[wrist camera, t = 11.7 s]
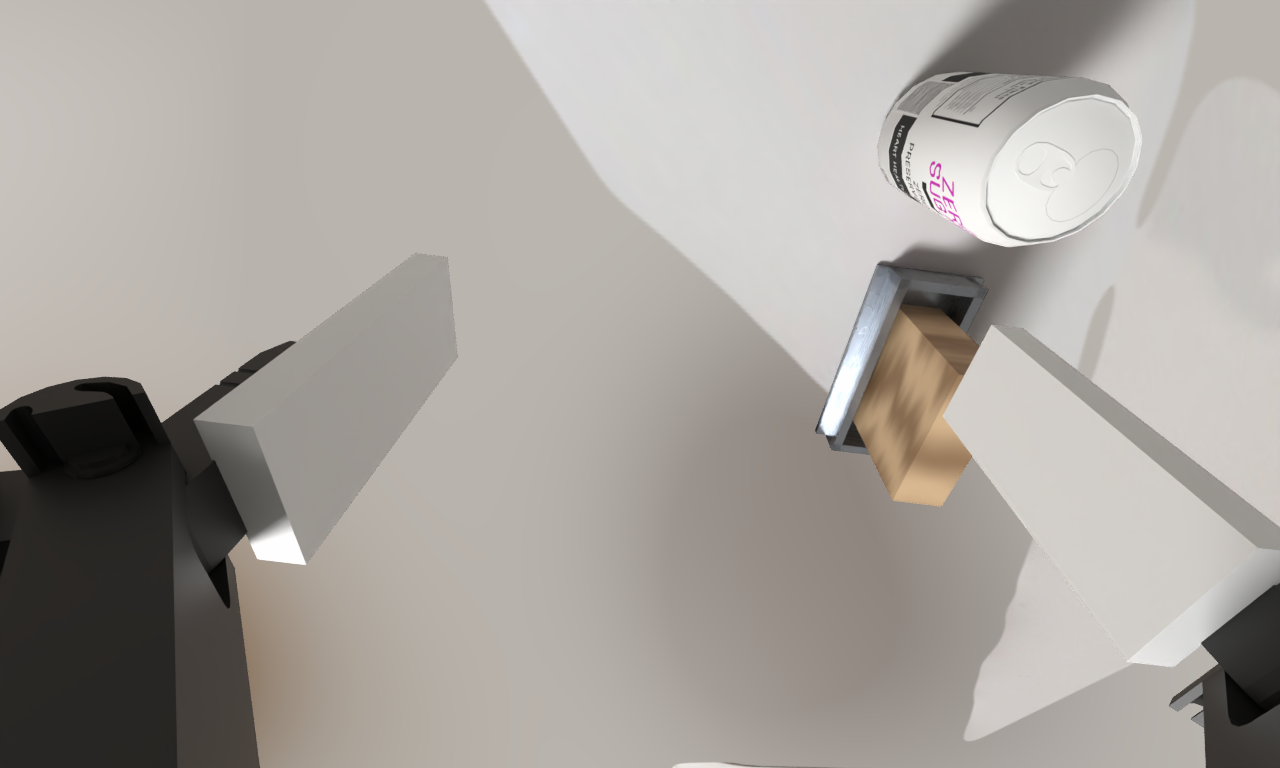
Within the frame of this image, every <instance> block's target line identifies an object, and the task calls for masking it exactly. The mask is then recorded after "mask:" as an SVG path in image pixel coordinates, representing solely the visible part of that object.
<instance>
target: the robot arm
mask: <svg viewBox="0 0 1280 768" xmlns="http://www.w3.org/2000/svg"><path fill="white" fill-rule="evenodd" d="M457 357H458V355H457V345H456V335H455V325H454V315H453V305H452V296H451V285H450V276H449V266H448V257H444V256H443V257H442V256H435V255H427V254H419V253H415V254H414V255H412V256H411V257H410V258H408V259H407V260H406V261H404V262H403V263H402V264H400V265H399V266H398V267H396V268H395V269H394V270H392V271H391V272H390V273H388V274H387V275H386V276H385V277H383V278H382V279H380V280H379V281H378V282H376V283H375V284H374V285H372V286H371V287H370V288H368V289H367V290H366V291H364V292H363V293H362V294H360V295H359V296H358V297H356V298H355V299H354V300H352V301H351V302H349V303H348V304H347V305H346V306H344V307H343V308H341V309H340V310H339V311H337V312H336V313H335V314H333V315H332V316H331V317H330V318H328V319H327V320H325V321H324V322H323V323H321V324H320V325H319V326H317V327H316V328H315V329H313V330H312V331H311V332H309V333H308V334H307V335H305V336H304V337H303V338H301V339H300V340H299V341H297V342H294V341H289V342H286V343H284V344H281V345H279V346H276V347H274V348H271V349H269V350H266V351H264V352H261V353H259V354H258V355H257V356H255V357H254V358H253V359H251V360H250V361H248V362H247V363H245V364H244V365H243V366H241V367H240V368H239V371H238V372H233V373H231V374H230V375H229V376H227V377H226V378H224V379H223V380H221V381H220V385H214V386H213V387H212V388H210V389H209V390H207V391H206V392H204V393H203V394H202V395H200V396H199V397H197V398H196V399H195V400H193V401H192V402H190V403H189V404H188V405H186V406H185V407H183V408H182V409H180V410H179V411H178V412H176V413H175V414H173V415H172V416H171V417H169V418H168V419H166V420H165V421H164V422H162V423H161V422H160V420H159V418H158V416H157V414H156V412H155V410H154V408H153V406H152V404H151V402H150V401H149V398H148V396H147V394H146V393H145V391H144V389H143V387H142V385H141V384H140V383H138V382H135V381H133V380H130V379H127V378H116V377H98V378H89V379H81V380H74V381H70V382H66V383H62V384H58V385H54V386H50V387H47V388H44V389H41V390H39V391H36V392H33V393H31V394H28V395H26V396H23V397H20V398H19V399H17V400H15V401H14V402H12V403H10V404H9V405H7V406H5V407H4V408H2V409H0V441H1V442H2V443H3V445H4V446H5V447H6V449H7V450H8V452H9V453H10V454H11V456H12V457H13V458H14V460H15V461H16V462H17V464H18V465H19V466H20V468H21V469H22V470H16V471H5V472H0V768H260V765H259V757H258V749H257V742H256V733H255V726H254V717H253V709H252V701H251V694H250V686H249V678H248V670H247V662H246V654H245V646H244V638H243V630H242V622H241V614H240V606H239V599H238V591H237V583H236V575H235V568H234V566H233V564H232V562H231V560H230V558H229V556H228V553H229V552H230V551H231V550H232V549H233V547H235V545H236V544H237V543H238V542H239V541H240V540H241V539H242V538H243V537H244V535H245V534H246V535H247V537H248V539H249V541H250V543H251V546H252V548H253V550H254V552H255V554H256V557H257V558H258V559H261V560H269V561H277V562H286V563H294V564H303V565H307V563H308V562H309V560H310V559H311V558H312V556H313V555H314V554H315V552H316V551H317V549H318V548H319V547H320V545H321V544H322V543H323V541H324V540H325V539H326V537H327V536H328V534H329V533H330V532H331V530H332V529H333V527H334V526H335V525H336V523H337V522H338V521H339V519H340V518H341V517H342V515H343V514H344V512H345V511H346V510H347V508H348V507H349V505H350V504H351V503H352V501H353V500H354V499H355V497H356V496H357V495H358V493H359V492H360V490H361V489H362V488H363V486H364V485H365V484H366V482H367V481H368V479H369V478H370V477H371V475H372V474H373V473H374V471H375V470H376V468H377V467H378V466H379V464H380V463H381V461H382V460H383V459H384V458H385V456H386V455H387V453H388V452H389V451H390V449H391V448H392V446H393V445H394V444H395V442H396V441H397V440H398V438H399V437H400V435H401V434H402V433H403V431H404V430H405V429H406V427H407V426H408V424H409V423H410V422H411V420H412V419H413V418H414V416H415V415H416V414H417V412H418V411H419V409H420V408H421V407H422V405H423V404H424V403H425V401H426V400H427V398H428V397H429V396H430V394H431V393H432V391H433V390H434V389H435V387H436V386H437V385H438V383H439V382H440V381H441V379H442V378H443V377H444V375H445V374H446V372H447V371H448V369H449V368H450V367H451V366H452V364H453V363H454V361H455V360H456V359H457ZM943 418H944V419H945V420H946V422H947V423H948V424H949V426H950V427H951V428H952V430H953V431H954V432H955V434H956V435H957V436H958V438H959V439H960V440H961V442H962V443H963V444H964V446H965V447H966V448H967V450H968V451H969V452H970V454H971V455H972V456H973V458H974V459H975V460H976V462H977V463H978V464H979V466H980V467H981V468H982V470H983V471H984V472H985V474H986V475H987V477H988V478H989V479H990V481H991V482H992V483H993V484H994V486H995V487H996V489H997V490H998V491H999V493H1000V494H1001V495H1002V497H1003V498H1004V499H1005V501H1006V502H1007V503H1008V505H1009V506H1010V507H1011V509H1012V510H1013V511H1014V512H1015V514H1016V515H1017V517H1018V518H1019V519H1020V521H1021V522H1022V523H1023V525H1024V526H1025V527H1026V529H1027V530H1028V531H1029V533H1030V534H1031V535H1032V537H1033V538H1034V539H1035V541H1036V542H1037V543H1038V545H1039V546H1040V547H1041V549H1042V550H1043V551H1044V553H1045V554H1046V555H1047V557H1048V558H1049V559H1050V561H1051V562H1052V563H1053V565H1054V566H1055V567H1056V569H1057V570H1058V571H1059V573H1060V574H1061V575H1062V577H1063V578H1064V579H1065V581H1066V582H1067V583H1068V585H1069V586H1070V587H1071V589H1072V590H1073V591H1074V593H1075V594H1076V595H1077V597H1078V598H1079V599H1080V601H1081V602H1082V603H1083V605H1084V606H1085V607H1086V609H1087V610H1088V611H1089V613H1090V614H1091V615H1092V617H1093V618H1094V620H1095V621H1096V622H1097V624H1098V625H1099V626H1100V628H1101V629H1102V630H1103V632H1104V633H1105V634H1106V636H1107V637H1108V638H1109V640H1110V641H1111V642H1112V644H1113V645H1114V646H1115V648H1116V649H1117V650H1118V652H1119V653H1120V654H1121V656H1122V657H1123V658H1124V660H1125V661H1126V662H1133V663H1142V664H1151V665H1158V666H1168V667H1174V666H1175V665H1176V664H1178V663H1179V662H1180V661H1182V660H1183V659H1184V658H1185V657H1187V656H1188V655H1189V654H1191V653H1192V652H1193V651H1194V650H1195V649H1197V648H1198V647H1199V646H1201V645H1203V646H1204V647H1205V648H1206V650H1207V651H1208V652H1209V653H1210V654H1211V655H1212V656H1213V657H1214V659H1215V660H1216V661H1217V662H1218V663H1219V664H1218V665H1216V666H1215V667H1213V668H1212V669H1211V670H1209V671H1208V672H1207V673H1205V674H1204V675H1203V676H1201V677H1200V678H1199V679H1197V680H1196V681H1195V682H1193V683H1192V684H1191V685H1189V686H1188V687H1186V688H1185V689H1184V690H1182V691H1181V692H1180V693H1178V694H1177V695H1176V696H1174V697H1173V698H1172V700H1171V703H1170V705H1169V706H1170V707H1171V708H1173V709H1174V710H1176V711H1179V710H1181V709H1182V708H1184V707H1185V706H1186V705H1188V704H1189V703H1196V704H1198V705H1201V706H1203V710H1202V711H1201V712H1199V713H1198V714H1196V715H1195V716H1193V717H1192V718H1191V720H1192V721H1194V722H1196V723H1197V724H1199V725H1201V726H1202V727H1204V734H1205V757H1206V768H1280V527H1279V526H1277V525H1276V524H1275V523H1274V522H1272V521H1271V520H1270V519H1268V518H1267V517H1266V516H1265V515H1263V514H1262V513H1261V512H1259V511H1258V510H1257V509H1256V508H1254V507H1253V506H1252V505H1250V504H1249V503H1248V502H1246V501H1245V500H1244V499H1243V498H1241V497H1240V496H1239V495H1237V494H1236V493H1235V492H1234V491H1232V490H1231V489H1230V488H1228V487H1227V486H1226V485H1225V484H1223V483H1222V482H1221V481H1219V480H1218V479H1217V478H1215V477H1214V476H1213V475H1212V474H1210V473H1209V472H1208V471H1206V470H1205V469H1204V468H1203V467H1201V466H1200V465H1199V464H1197V463H1196V462H1195V461H1194V460H1192V459H1191V458H1190V457H1188V456H1187V455H1186V454H1185V453H1183V452H1182V451H1181V450H1179V449H1178V448H1177V447H1175V446H1174V445H1173V444H1172V443H1170V442H1169V441H1168V440H1166V439H1165V438H1164V437H1163V436H1161V435H1160V434H1159V433H1157V432H1156V431H1155V430H1154V429H1152V428H1151V427H1150V426H1148V425H1147V424H1146V423H1144V422H1143V421H1142V420H1141V419H1139V418H1138V417H1137V416H1135V415H1134V414H1133V413H1132V412H1130V411H1129V410H1128V409H1126V408H1125V407H1124V406H1123V405H1121V404H1120V403H1119V402H1117V401H1116V400H1115V399H1114V398H1112V397H1111V396H1110V395H1108V394H1107V393H1106V392H1104V391H1103V390H1102V389H1101V388H1099V387H1098V386H1097V385H1095V384H1094V383H1093V382H1092V381H1090V380H1089V379H1088V378H1086V377H1085V376H1084V375H1082V374H1081V373H1080V372H1079V371H1077V370H1076V369H1075V368H1073V367H1072V366H1071V365H1070V364H1068V363H1067V362H1066V361H1064V360H1063V359H1062V358H1061V357H1059V356H1058V355H1057V354H1055V353H1054V352H1053V351H1052V350H1050V349H1049V348H1048V347H1046V346H1045V345H1044V344H1043V343H1041V342H1040V341H1039V340H1037V339H1036V338H1035V337H1033V336H1032V335H1031V334H1030V333H1028V332H1027V331H1026V330H1024V329H1023V328H1016V327H1008V326H1000V325H991V327H990V328H989V330H988V332H987V334H986V336H985V338H984V340H983V341H982V343H981V345H980V347H979V349H978V351H977V353H976V355H975V356H974V358H973V360H972V362H971V364H970V366H969V368H968V369H967V371H966V373H965V375H964V377H963V379H962V381H961V382H960V384H959V386H958V388H957V390H956V392H955V394H954V396H953V397H952V399H951V401H950V403H949V405H948V407H947V409H946V410H945V412H944V414H943Z"/></svg>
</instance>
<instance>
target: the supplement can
mask: <svg viewBox="0 0 1280 768" xmlns="http://www.w3.org/2000/svg"><path fill="white" fill-rule="evenodd" d="M1142 140H1143V139H1142V135H1141V131H1140V127H1139V123H1138V119H1137V116H1136V115H1135V114H1134V113H1133V112H1132V111H1131V110H1130V109H1129V107H1128V104H1127V103H1126V102H1125V100H1124V99H1123V98H1122V97H1121V96H1120V95H1119V94H1118V93H1117V92H1116V91H1115V90H1114V89H1113V88H1112V87H1111V86H1110V85H1108V84H1104V83H1100V82H1097V81H1093V80H1090V79H1086V78H1082V77H1063V76H1041V75H1019V74H997V73H975V72H952V73H945V74H938V75H934V76H932V77H930V78H928V79H926V80H925V81H923V82H921V83H919V84H917V85H915V86H913V87H912V88H911V89H910V90H909V91H908V92H907V93H906V94H905V95H904V96H903V97H902V98H901V99H900V100H898V101H897V102H896V103H895V105H894V107H893V108H892V110H891V112H890V113H889V115H888V117H887V118H886V120H885V122H884V123H883V126H882V130H881V134H880V137H879V141H878V145H877V147H878V163H879V167H880V169H881V171H882V173H883V175H884V177H885V179H886V181H887V182H888V183H890V184H891V185H892V186H893V187H895V188H896V189H897V190H898V191H900V192H901V193H903V194H904V195H906V196H908V197H910V198H911V199H913V200H915V201H916V202H918V203H920V204H921V205H923V206H925V207H926V208H928V209H930V210H932V211H933V212H935V213H937V214H938V215H940V216H942V217H943V218H945V219H947V220H948V221H950V222H952V223H954V224H955V225H957V226H959V227H960V228H962V229H964V230H965V231H967V232H969V233H970V234H972V235H974V236H976V237H977V238H979V239H981V240H982V241H984V242H988V243H992V244H996V245H1000V246H1004V247H1014V246H1024V245H1034V244H1038V243H1048V242H1054V241H1057V240H1059V239H1062V238H1064V237H1067V236H1069V235H1072V234H1074V233H1077V232H1079V231H1080V230H1082V229H1083V228H1085V227H1086V226H1088V225H1089V224H1090V223H1092V222H1093V221H1095V220H1096V219H1098V218H1099V217H1101V216H1102V215H1103V214H1104V213H1105V212H1106V211H1107V210H1108V209H1109V208H1110V207H1111V206H1112V204H1113V203H1114V202H1115V201H1116V200H1117V199H1118V198H1119V197H1120V196H1121V195H1122V193H1123V192H1124V191H1125V189H1126V187H1127V185H1128V183H1129V181H1130V180H1131V178H1132V176H1133V174H1134V172H1135V170H1136V168H1137V166H1138V162H1139V157H1140V151H1141V146H1142Z"/></svg>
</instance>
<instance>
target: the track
mask: <svg viewBox="0 0 1280 768" xmlns="http://www.w3.org/2000/svg"><path fill="white" fill-rule="evenodd" d="M983 281H984V279H983V278H980V277H972V276H964V275H956V274H948V273H941V272H933V271H925V270H917V269H909V268H901V267H893V266H885V265H877V266H876V269H875V272H874V274H873V277H872V280H871V282H870V285H869V288H868V290H867V293H866V296H865V298H864V301H863V304H862V306H861V309H860V312H859V314H858V317H857V320H856V322H855V325H854V328H853V330H852V333H851V336H850V338H849V341H848V344H847V346H846V349H845V352H844V354H843V357H842V360H841V362H840V365H839V368H838V370H837V373H836V376H835V378H834V381H833V384H832V386H831V389H830V392H829V395H828V397H827V400H826V403H825V405H824V408H823V411H822V413H821V416H820V419H819V421H818V424H817V427H816V429H815V432H816V433H817V434H825V435H826V438H827V440H828V443H829V445H830V448H831V450H834V451H843V452H851V453H859V454H868V455H870V454H869V452H868V450H867V448H866V446H865V444H864V442H863V440H862V437H861V435H860V433H859V431H858V429H857V427H856V425H855V423H854V421H853V418H854V415H855V413H856V411H857V408H858V406H859V403H860V401H861V399H862V396H863V394H864V391H865V389H866V387H867V384H868V382H869V379H870V377H871V375H872V372H873V370H874V368H875V365H876V363H877V360H878V358H879V356H880V353H881V351H882V348H883V346H884V344H885V341H886V339H887V337H888V334H889V332H890V329H891V327H892V325H893V322H894V320H895V317H896V315H897V313H898V310H899V308H900V305H901V304H906V305H915V306H923V307H931V308H939V309H941V310H942V311H943V312H944V313H945V314H946V315H947V316H948V317H949V318H950V319H951V320H952V321H953V322H955V323H956V324H957V325H958V326H959V327H960V328H961V329H962V330H963V331H964V332H965V333H967V331H968V329H969V327H970V325H971V323H972V321H973V319H974V317H975V315H976V313H977V311H978V309H979V307H980V306H981V304H982V302H983V300H984V298H985V296H986V294H987V292H988V289H987V288H986V287H984V286H983V285H982V283H983Z"/></svg>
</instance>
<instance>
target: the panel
mask: <svg viewBox="0 0 1280 768" xmlns="http://www.w3.org/2000/svg"><path fill="white" fill-rule="evenodd" d="M979 347H980V346H979V345H978V344H977V343H976V342H975V341H974V340H973V339H971V338H970V337H969V336H968V335H967V334H966V333H965V332H964V331H963V330H962V329H961V328H960V327H959V326H958V325H957V324H956V323H955V322H953V321H952V320H951V319H950V318H949V317H948V316H947V315H946V314H945V313H944V312H943V311H942V310H941V309H939V308H931V307H923V306H915V305H906V304H901V305H900V308H899V310H898V313H897V315H896V317H895V320H894V322H893V325H892V327H891V329H890V332H889V334H888V337H887V339H886V341H885V344H884V346H883V348H882V351H881V353H880V356H879V358H878V360H877V363H876V365H875V368H874V370H873V372H872V375H871V377H870V379H869V382H868V384H867V387H866V389H865V391H864V394H863V396H862V399H861V401H860V403H859V406H858V408H857V411H856V413H855V415H854V418H853V421H854V423H855V425H856V427H857V429H858V431H859V433H860V435H861V437H862V440H863V442H864V444H865V446H866V448H867V450H868V452H869V454H870V456H871V458H872V460H873V462H874V464H875V466H876V468H877V470H878V472H879V474H880V476H881V478H882V480H883V482H884V484H885V486H886V488H887V490H888V492H889V494H890V496H891V498H892V500H893V501H901V502H909V503H918V504H926V505H934V506H942V505H943V503H944V502H945V500H946V498H947V497H948V495H949V493H950V492H951V490H952V488H953V487H954V485H955V483H956V482H957V480H958V479H959V477H960V475H961V474H962V472H963V470H964V468H965V467H966V465H967V464H968V462H969V461H970V459H971V457H972V455H971V454H970V452H969V451H968V450H967V448H966V447H965V446H964V444H963V443H962V442H961V440H960V439H959V438H958V436H957V435H956V434H955V432H954V431H953V430H952V428H951V427H950V426H949V424H948V423H947V422H946V420H945V419H944V418H943V414H944V412H945V410H946V409H947V407H948V405H949V403H950V401H951V399H952V397H953V396H954V394H955V392H956V390H957V388H958V386H959V384H960V382H961V381H962V379H963V377H964V375H965V373H966V371H967V369H968V368H969V366H970V364H971V362H972V360H973V358H974V356H975V355H976V353H977V351H978V349H979Z"/></svg>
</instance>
